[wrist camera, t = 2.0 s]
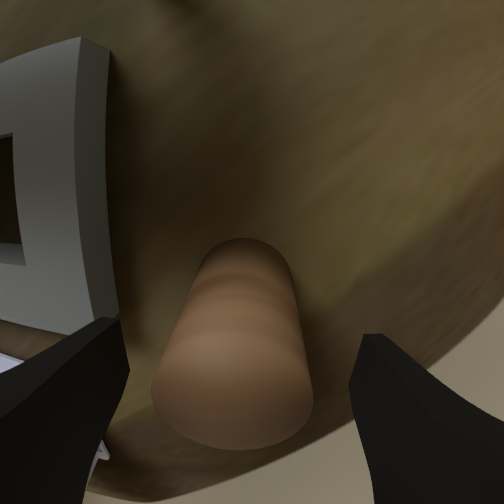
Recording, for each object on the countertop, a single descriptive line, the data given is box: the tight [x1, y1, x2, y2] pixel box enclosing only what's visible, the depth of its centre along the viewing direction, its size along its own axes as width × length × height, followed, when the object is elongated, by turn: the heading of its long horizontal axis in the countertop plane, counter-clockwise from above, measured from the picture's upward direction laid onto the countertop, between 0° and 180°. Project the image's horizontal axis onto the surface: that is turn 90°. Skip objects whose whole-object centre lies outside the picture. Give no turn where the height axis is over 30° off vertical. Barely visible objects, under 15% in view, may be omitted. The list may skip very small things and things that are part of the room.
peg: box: [151, 238, 314, 450], centre depth 10 cm, size 4×4×7 cm
